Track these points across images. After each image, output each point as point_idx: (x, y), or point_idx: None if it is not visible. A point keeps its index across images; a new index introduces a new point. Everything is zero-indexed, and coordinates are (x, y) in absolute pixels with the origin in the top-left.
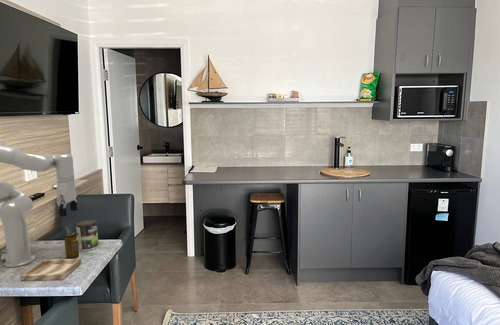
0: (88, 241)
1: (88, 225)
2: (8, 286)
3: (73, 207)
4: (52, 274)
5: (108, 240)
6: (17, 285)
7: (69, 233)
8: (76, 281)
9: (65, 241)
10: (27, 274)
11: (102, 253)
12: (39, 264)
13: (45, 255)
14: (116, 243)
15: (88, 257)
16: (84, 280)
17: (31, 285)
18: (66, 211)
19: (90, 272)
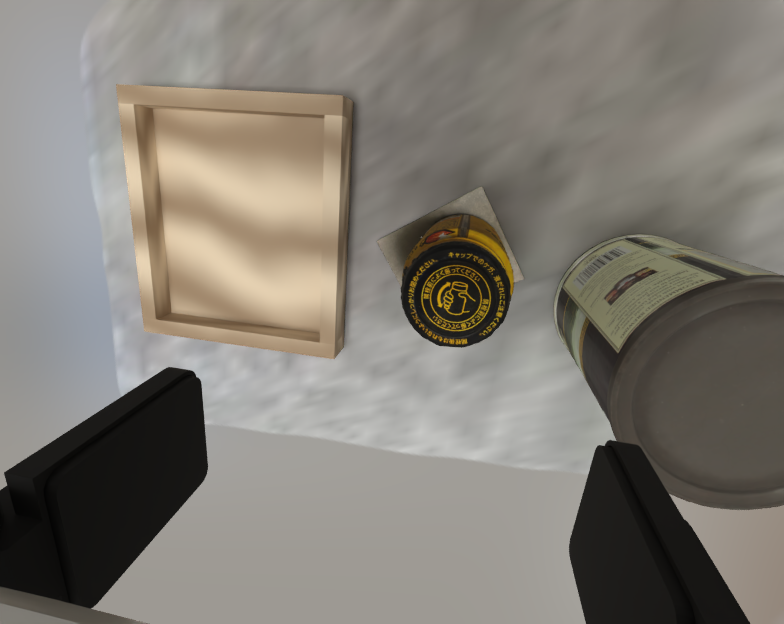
0: (573, 355)
1: None
2: (88, 51)
3: (598, 564)
4: (143, 278)
5: None
6: (102, 101)
7: (485, 276)
8: None
9: (415, 250)
10: (135, 122)
11: (478, 424)
12: (275, 112)
13: (532, 9)
14: None
15: (429, 360)
16: None
17: (109, 185)
18: (140, 545)
19: (240, 421)
